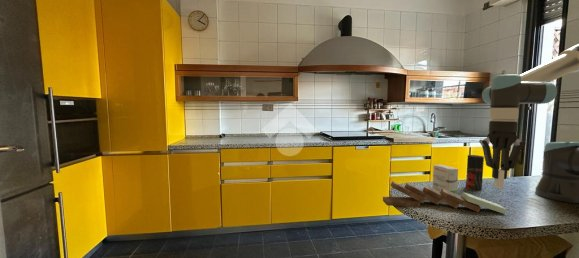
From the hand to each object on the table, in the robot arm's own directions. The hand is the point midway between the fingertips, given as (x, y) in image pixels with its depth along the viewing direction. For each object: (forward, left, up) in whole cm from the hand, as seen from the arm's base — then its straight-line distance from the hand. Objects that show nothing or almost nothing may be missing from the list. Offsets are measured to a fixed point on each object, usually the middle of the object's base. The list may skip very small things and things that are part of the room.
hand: (498, 187), depth 89 cm
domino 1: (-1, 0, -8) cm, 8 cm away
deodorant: (-4, -28, -9) cm, 30 cm away
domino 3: (+12, 0, -7) cm, 14 cm away
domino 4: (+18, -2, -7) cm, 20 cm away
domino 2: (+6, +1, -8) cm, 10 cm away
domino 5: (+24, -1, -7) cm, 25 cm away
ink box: (+12, -16, -9) cm, 22 cm away
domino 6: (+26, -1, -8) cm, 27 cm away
